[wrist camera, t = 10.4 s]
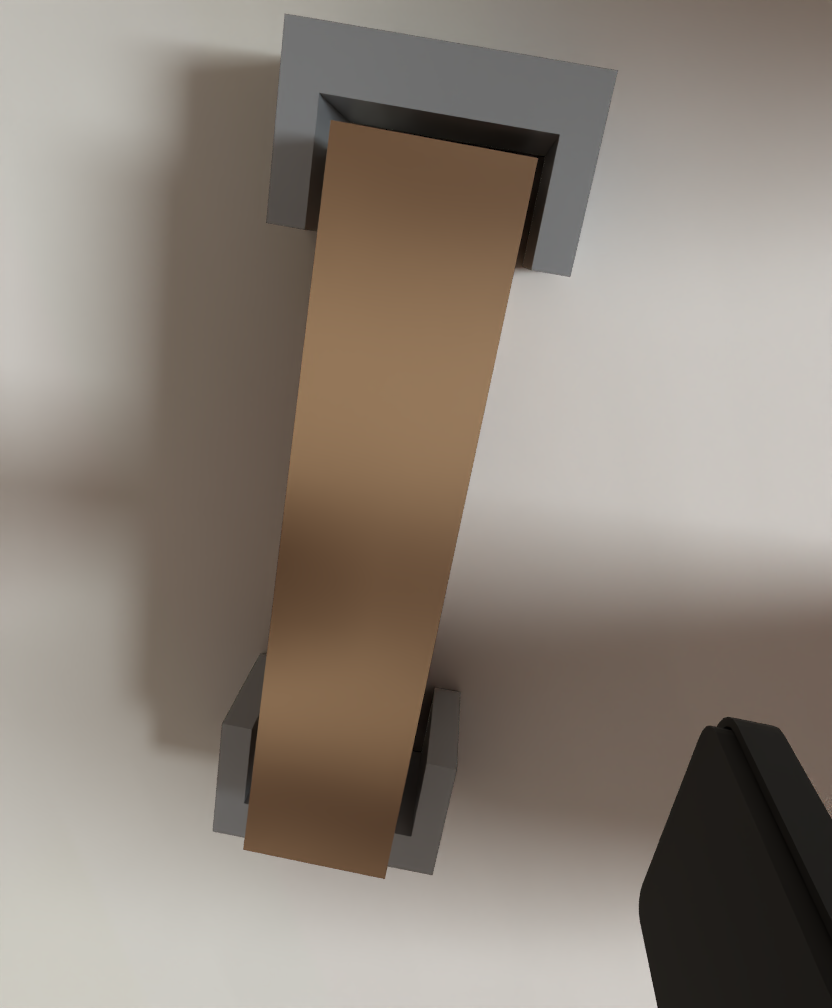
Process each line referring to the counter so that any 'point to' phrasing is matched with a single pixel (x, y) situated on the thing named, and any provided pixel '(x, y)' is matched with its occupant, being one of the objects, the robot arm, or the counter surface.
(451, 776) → the end cap
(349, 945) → the counter surface
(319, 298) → the brown rectangular block
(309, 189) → the end cap
